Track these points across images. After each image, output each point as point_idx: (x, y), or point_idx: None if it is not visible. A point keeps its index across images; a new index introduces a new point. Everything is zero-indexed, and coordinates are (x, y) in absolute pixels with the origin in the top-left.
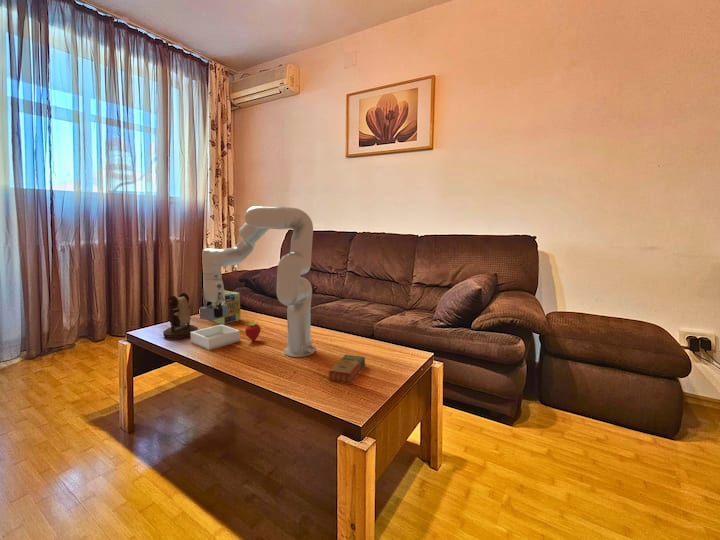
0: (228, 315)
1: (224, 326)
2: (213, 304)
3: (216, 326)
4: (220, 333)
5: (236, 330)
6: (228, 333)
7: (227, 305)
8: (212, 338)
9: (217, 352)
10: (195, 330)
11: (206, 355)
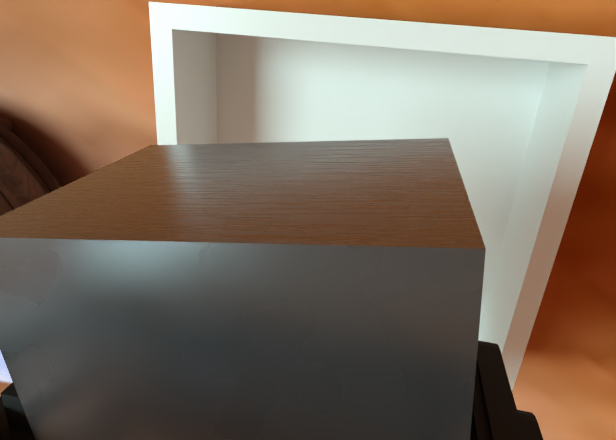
0: (449, 143)
1: (262, 36)
2: (39, 410)
3: (177, 92)
4: (221, 38)
5: (568, 62)
6: (564, 214)
7: (477, 273)
8: (513, 386)
9: (587, 346)
10: (39, 187)
11: (550, 412)
